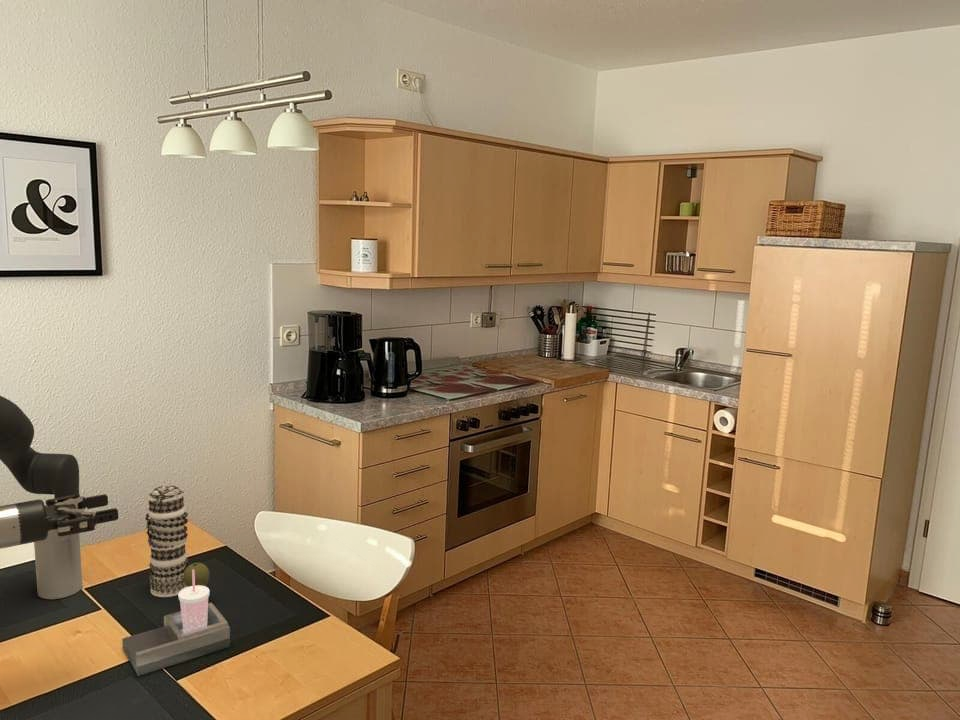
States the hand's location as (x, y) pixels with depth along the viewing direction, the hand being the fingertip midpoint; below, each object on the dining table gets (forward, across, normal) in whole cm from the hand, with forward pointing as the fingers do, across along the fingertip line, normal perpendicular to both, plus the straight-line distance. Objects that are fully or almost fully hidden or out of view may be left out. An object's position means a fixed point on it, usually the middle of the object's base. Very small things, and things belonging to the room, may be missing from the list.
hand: (112, 506), depth 145 cm
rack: (+10, -3, +32) cm, 34 cm away
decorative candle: (+16, +23, +32) cm, 43 cm away
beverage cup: (+14, -3, +30) cm, 33 cm away
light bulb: (+19, +12, +32) cm, 39 cm away
